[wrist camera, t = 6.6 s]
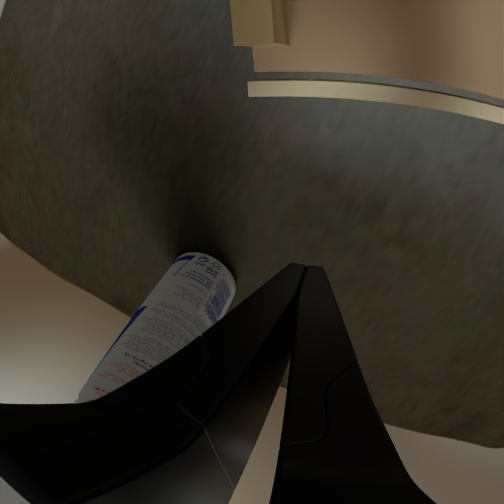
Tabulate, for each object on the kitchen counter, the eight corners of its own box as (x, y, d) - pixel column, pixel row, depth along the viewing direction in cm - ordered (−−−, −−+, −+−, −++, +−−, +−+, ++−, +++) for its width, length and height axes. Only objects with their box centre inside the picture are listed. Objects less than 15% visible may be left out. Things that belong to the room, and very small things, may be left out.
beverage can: (169, 245, 26) (55, 391, 14) (233, 252, 25) (132, 428, 13) (183, 297, 29) (96, 435, 18) (240, 306, 28) (166, 466, 16)
